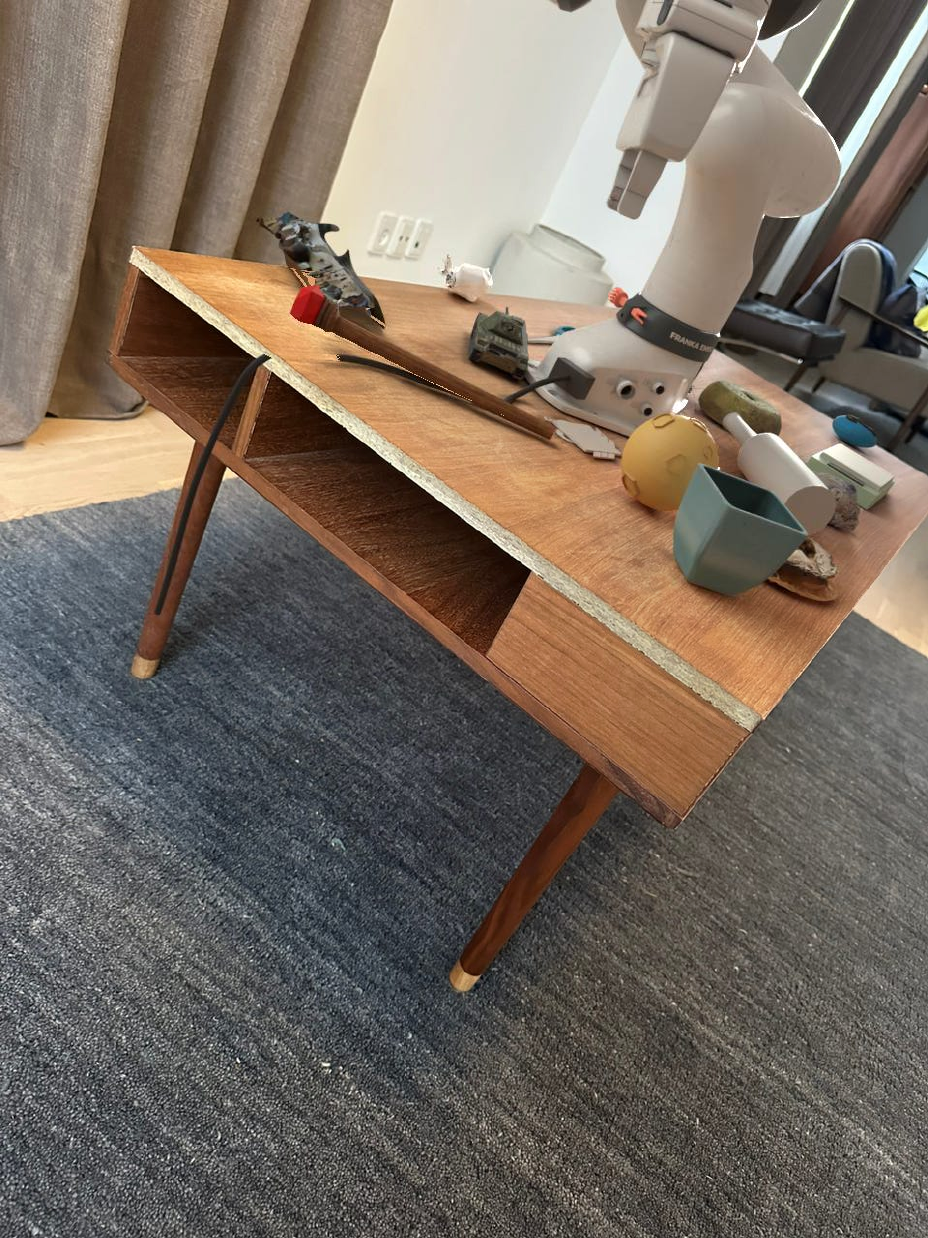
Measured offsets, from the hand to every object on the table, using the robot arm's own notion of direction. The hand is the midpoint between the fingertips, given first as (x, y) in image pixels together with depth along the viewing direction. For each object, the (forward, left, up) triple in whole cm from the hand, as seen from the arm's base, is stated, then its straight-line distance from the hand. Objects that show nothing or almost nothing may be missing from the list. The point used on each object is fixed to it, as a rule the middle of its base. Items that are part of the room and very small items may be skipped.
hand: (619, 213), depth 76 cm
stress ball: (+18, -1, -25) cm, 31 cm away
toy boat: (-8, +40, -29) cm, 50 cm away
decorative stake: (+10, +9, -23) cm, 27 cm away
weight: (+57, +37, -24) cm, 72 cm away
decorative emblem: (+21, +10, -24) cm, 34 cm away
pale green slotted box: (+74, +26, -24) cm, 82 cm away
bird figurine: (+10, +55, -22) cm, 60 cm away
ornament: (+90, +49, -22) cm, 105 cm away
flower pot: (+17, -14, -25) cm, 33 cm away
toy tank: (+12, +33, -25) cm, 43 cm away
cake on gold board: (+27, -11, -27) cm, 40 cm away
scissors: (+38, +55, -24) cm, 71 cm away
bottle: (+41, +1, -21) cm, 46 cm away
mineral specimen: (+54, +10, -25) cm, 60 cm away
